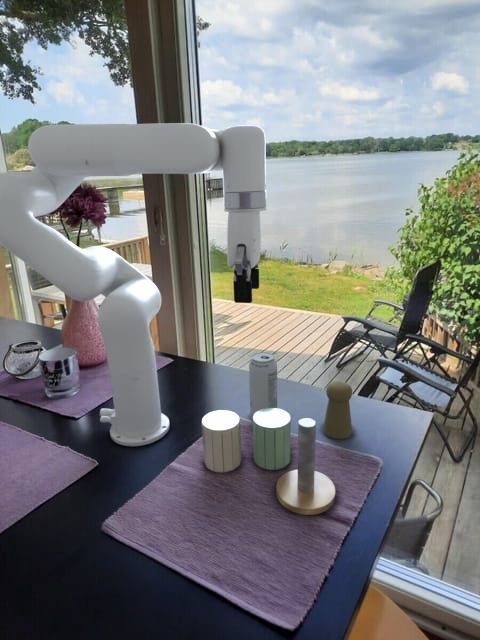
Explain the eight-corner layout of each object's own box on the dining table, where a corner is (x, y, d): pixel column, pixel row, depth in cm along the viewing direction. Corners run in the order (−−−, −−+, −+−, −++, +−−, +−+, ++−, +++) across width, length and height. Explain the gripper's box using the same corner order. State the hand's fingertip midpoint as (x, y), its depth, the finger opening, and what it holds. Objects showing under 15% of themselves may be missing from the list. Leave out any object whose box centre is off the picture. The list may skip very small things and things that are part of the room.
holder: (273, 511, 72) (273, 437, 67) (279, 472, 81) (278, 404, 76) (336, 518, 70) (340, 442, 65) (334, 476, 79) (337, 408, 75)
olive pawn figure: (352, 440, 90) (355, 392, 86) (322, 437, 91) (324, 390, 87) (351, 424, 95) (354, 378, 92) (323, 421, 96) (324, 376, 93)
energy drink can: (256, 409, 102) (255, 349, 98) (281, 414, 100) (281, 353, 95) (246, 422, 97) (244, 360, 92) (271, 428, 95) (271, 364, 90)
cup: (200, 470, 82) (197, 428, 79) (209, 448, 89) (206, 408, 86) (237, 473, 81) (235, 431, 78) (243, 450, 87) (242, 411, 85)
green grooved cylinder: (251, 468, 82) (250, 426, 79) (256, 446, 89) (255, 406, 86) (289, 471, 81) (289, 429, 78) (291, 448, 88) (291, 408, 85)
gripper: (233, 199, 87) (236, 283, 92) (213, 206, 71) (218, 308, 76) (271, 198, 85) (271, 284, 91) (259, 205, 69) (261, 309, 75)
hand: (247, 295), depth 84 cm, fingers open, 9 cm apart
